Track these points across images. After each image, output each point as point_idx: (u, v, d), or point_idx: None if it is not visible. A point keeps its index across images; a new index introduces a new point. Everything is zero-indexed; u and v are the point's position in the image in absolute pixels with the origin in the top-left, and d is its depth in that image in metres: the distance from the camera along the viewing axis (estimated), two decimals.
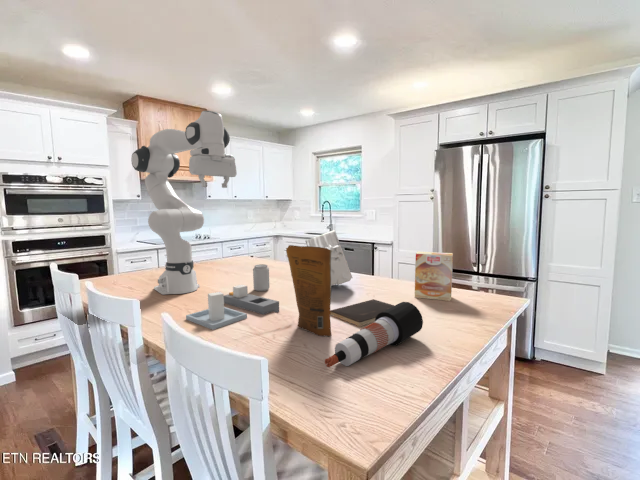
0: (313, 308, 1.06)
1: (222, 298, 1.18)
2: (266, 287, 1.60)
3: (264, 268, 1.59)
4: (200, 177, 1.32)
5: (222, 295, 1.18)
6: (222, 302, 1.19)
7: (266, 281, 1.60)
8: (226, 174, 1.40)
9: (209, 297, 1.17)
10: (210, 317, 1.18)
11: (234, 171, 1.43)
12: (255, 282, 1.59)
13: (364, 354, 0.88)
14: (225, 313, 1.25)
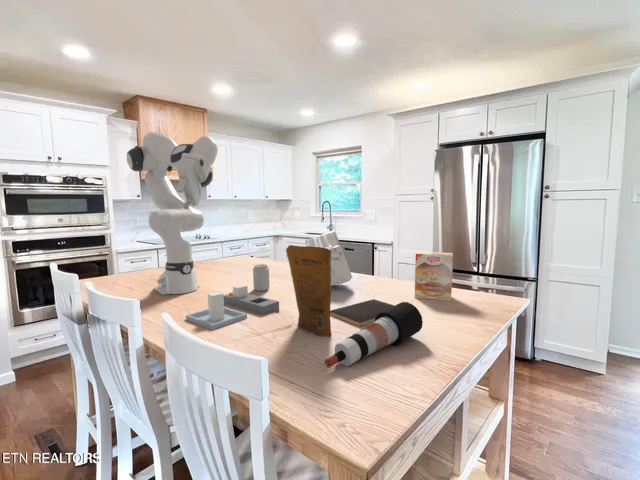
0: (313, 308, 1.06)
1: (222, 298, 1.18)
2: (266, 287, 1.60)
3: (264, 268, 1.59)
4: (182, 179, 1.15)
5: (222, 295, 1.18)
6: (222, 302, 1.19)
7: (266, 281, 1.60)
8: (195, 197, 1.25)
9: (209, 297, 1.17)
10: (210, 317, 1.18)
11: (198, 201, 1.29)
12: (255, 282, 1.59)
13: (364, 354, 0.88)
14: (225, 313, 1.25)
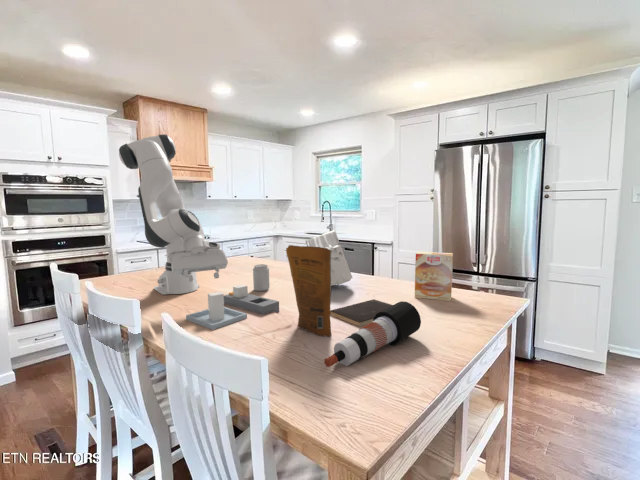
0: (313, 308, 1.06)
1: (222, 298, 1.18)
2: (266, 287, 1.60)
3: (264, 268, 1.59)
4: (219, 269, 1.31)
5: (222, 295, 1.18)
6: (222, 302, 1.19)
7: (266, 281, 1.60)
8: None
9: (209, 297, 1.17)
10: (210, 317, 1.18)
11: None
12: (255, 282, 1.59)
13: (363, 354, 0.88)
14: (225, 313, 1.25)
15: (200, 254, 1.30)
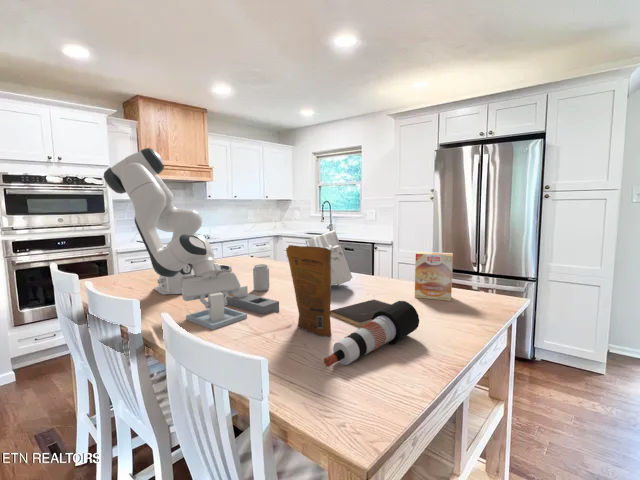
0: (313, 308, 1.06)
1: (222, 298, 1.18)
2: (266, 287, 1.60)
3: (264, 268, 1.59)
4: None
5: (222, 295, 1.18)
6: (222, 302, 1.19)
7: (266, 281, 1.60)
8: None
9: (209, 297, 1.17)
10: (210, 317, 1.18)
11: None
12: (255, 282, 1.59)
13: (362, 353, 0.88)
14: (225, 313, 1.25)
15: (212, 279, 1.23)
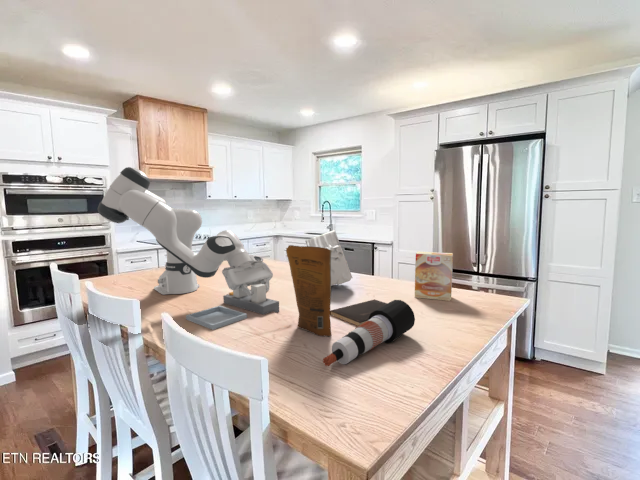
0: (313, 308, 1.06)
1: (265, 288, 1.31)
2: None
3: None
4: None
5: (265, 286, 1.30)
6: (265, 292, 1.31)
7: None
8: None
9: (254, 288, 1.28)
10: None
11: None
12: None
13: (361, 352, 0.89)
14: (225, 313, 1.25)
15: (249, 269, 1.33)
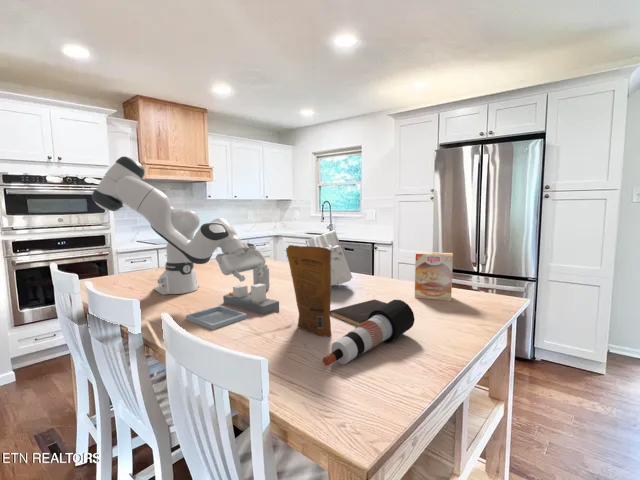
0: (313, 308, 1.06)
1: (265, 288, 1.31)
2: (266, 287, 1.60)
3: (264, 268, 1.59)
4: None
5: (265, 286, 1.30)
6: (265, 292, 1.31)
7: (266, 281, 1.60)
8: None
9: (254, 288, 1.28)
10: None
11: None
12: (255, 282, 1.59)
13: (360, 352, 0.89)
14: (225, 313, 1.25)
15: (243, 255, 1.36)
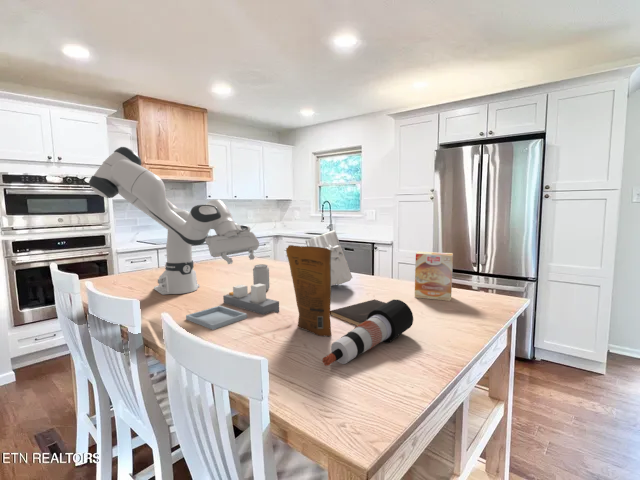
0: (313, 308, 1.06)
1: (265, 288, 1.31)
2: (266, 287, 1.60)
3: (264, 268, 1.59)
4: None
5: (265, 286, 1.30)
6: (265, 292, 1.31)
7: (266, 281, 1.60)
8: None
9: (254, 288, 1.28)
10: None
11: None
12: (255, 282, 1.59)
13: (360, 352, 0.89)
14: (225, 313, 1.25)
15: (234, 238, 1.35)
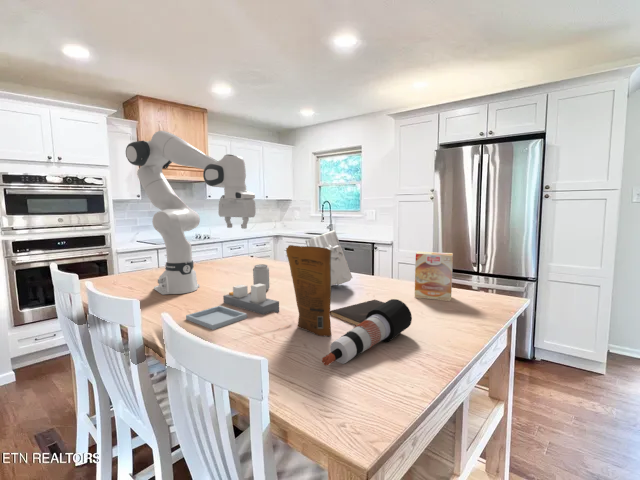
0: (313, 308, 1.06)
1: (265, 288, 1.31)
2: (266, 287, 1.60)
3: (264, 268, 1.59)
4: (247, 219, 1.37)
5: (265, 286, 1.30)
6: (265, 292, 1.31)
7: (266, 281, 1.60)
8: None
9: (254, 288, 1.28)
10: None
11: None
12: (255, 282, 1.59)
13: (359, 351, 0.90)
14: (225, 313, 1.25)
15: (233, 203, 1.39)
